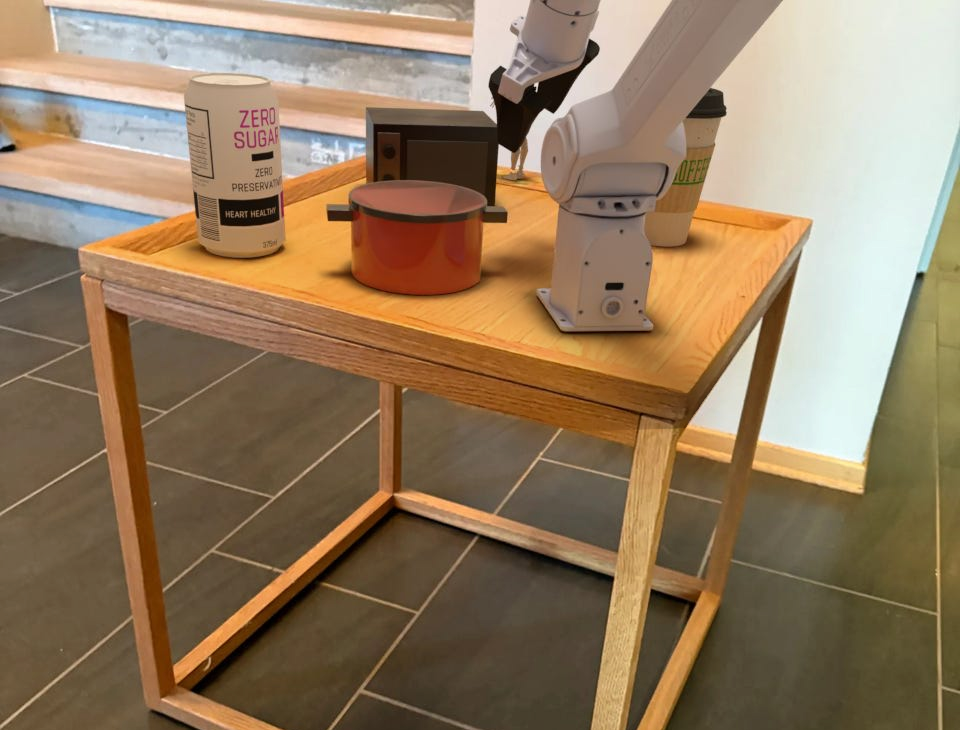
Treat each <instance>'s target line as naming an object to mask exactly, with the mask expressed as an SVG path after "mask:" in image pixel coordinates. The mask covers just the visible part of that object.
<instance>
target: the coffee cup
mask: <svg viewBox="0 0 960 730" xmlns="http://www.w3.org/2000/svg"><path fill="white" fill-rule="evenodd" d="M724 99H725V97H724V92H723V91H722V90H719V89H717V88H713V87H711V88H710V89H709V90H708V91H707V93H706V94H705V95H704V96H703V97H702V99H701V100H700V101H699V102H698V103H697V105H696V106H695V107H694V108H693V109H692V111H691V112H690V113H689V114H688V115H687V117H686V118H685V119H684V120H683V125H684V130H685V136H686V158H685V159H684V161H683V162H682V163H681V164H680V165H679V167H678V168H677V171H676V174H675V177H674V180H673V182H672V184H671V186H670V188H669V189H668V191H667V193H666V194H665V195H664V196H663V197H662V198H661V199H659V200H656V205H655V211H649V212H646V218H645V225H644V233H645V236H646V238H647V239H648V241H649V243H650V246H653V247H654V246H655V247H664V248H665V247H671V248H672V247H679V246H682V245H685V244H686V242H687V239H688V236H689V233H690V228H691V225H692V221H693V219H694V218H693V217H694V214H695V211H696V210H697V208H698V206H699V202H700V199H701V196H702V191H703V188H704V185H705V182H706V178H707V174H708V171H709V168H710V165H711V161H712V157H713V154H714V151H715V148H716V142H715V141H716V138H717V135H718V130H719V128H720V124H721V121H722V118H724V117H726V116H727V114H728V113H727V105H725V100H724Z"/></svg>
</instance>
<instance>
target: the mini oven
mask: <svg viewBox="0 0 960 730" xmlns="http://www.w3.org/2000/svg"><path fill="white" fill-rule="evenodd" d="M499 146H500V145H499V144H498V143H497V122H496V121H494V120H493V119H492V118H491V117H490V116H489V115H488V114H487V113H486V112H485V111H483V110H469V109H468V110H463V109H436V108H435V109H432V108H429V109H428V108H401V107H371V106H370V107H369V106H366V107H365V184H368V183H374V182H381V181H394V180H416V181H431V182H440V183H447V184H452V185H457V186H461V187H465V188H468V189H471V190H474V191H476V192H478V193H480V194H482V195H483V196H484V197H485V198H486V199H487V206H496V192H497V177H498V161H499V149H500V147H499Z"/></svg>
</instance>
